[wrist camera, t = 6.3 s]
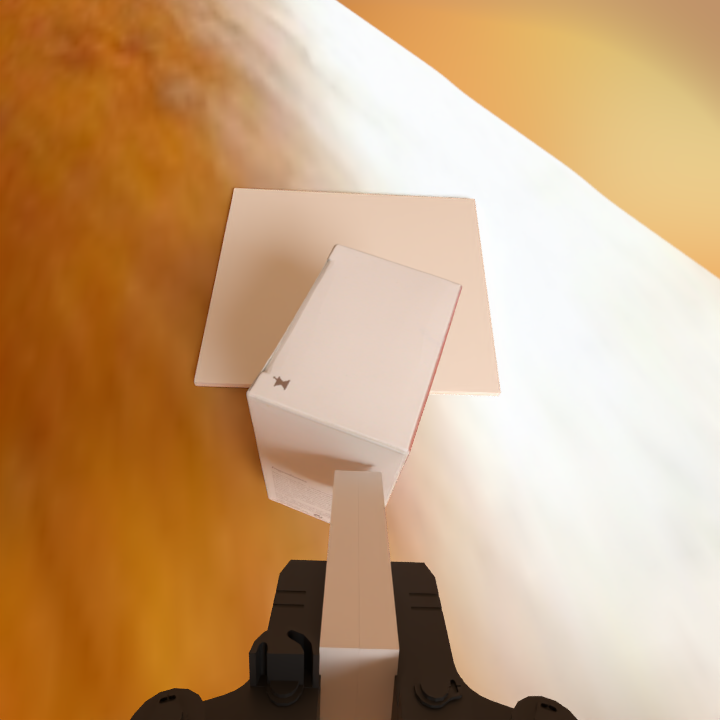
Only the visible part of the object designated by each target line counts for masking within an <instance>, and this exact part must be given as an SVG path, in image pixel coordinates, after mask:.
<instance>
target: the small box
mask: <svg viewBox="0 0 720 720" xmlns="http://www.w3.org/2000/svg"><path fill="white" fill-rule="evenodd" d="M461 290H462V286H461V285H460V284H458V283H455V282H452V281H449V280H447V279H444V278H441V277H438V276H435V275H432V274H429V273H426V272H423V271H420V270H417V269H414V268H411V267H408V266H405V265H402V264H398V263H395V262H392V261H389V260H386V259H383V258H380V257H377V256H374V255H371V254H368V253H365V252H362V251H359V250H356V249H353V248H349V247H346V246H343V245H340V244H336V245H334V247H333V248H332V250H331V253H330V254H329V256H328V258H327V260H326V262H325V264H324V266H323V268H322V270H321V272H320V274H319V275H318V277H317V279H316V280H315V282H314V284H313V286H312V287H311V289H310V291H309V293H308V294H307V296H306V298H305V299H304V301H303V303H302V305H301V306H300V308H299V310H298V311H297V313H296V315H295V316H294V318H293V320H292V322H291V323H290V325H289V327H288V328H287V330H286V332H285V333H284V335H283V337H282V338H281V340H280V342H279V343H278V345H277V347H276V348H275V350H274V351H273V353H272V355H271V356H270V358H269V359H268V361H267V363H266V364H265V366H264V367H263V369H262V370H261V371H260V373H259V374H258V376H257V377H256V379H255V380H254V382H253V383H252V385H251V386H250V388H249V389H248V391H247V392H246V396H247V401H248V405H249V410H250V414H251V420H252V424H253V428H254V433H255V438H256V443H257V448H258V452H259V457H260V462H261V466H262V471H263V476H264V481H265V484H266V489H267V494H268V498H269V499H270V500H273V501H276V502H278V503H281V504H283V505H286V506H288V507H290V508H293V509H295V510H298V511H300V512H303V513H305V514H308V515H310V516H313V517H315V518H318V519H320V520H322V521H325V522H327V523H330V520H331V508H332V497H333V485H334V474H335V470H341V471H369V472H381V473H382V483H383V493H384V503H385V507H386V505H387V503H388V500H389V498H390V496H391V493H392V491H393V489H394V486H395V484H396V482H397V480H398V477H399V475H400V473H401V471H402V468H403V466H404V464H405V462H406V460H407V458H408V456H409V453H410V450H411V447H412V444H413V441H414V438H415V435H416V432H417V428H418V425H419V422H420V419H421V416H422V413H423V410H424V407H425V404H426V401H427V398H428V395H429V392H430V389H431V386H432V383H433V380H434V377H435V374H436V371H437V368H438V364H439V361H440V358H441V355H442V352H443V348H444V345H445V342H446V338H447V335H448V332H449V329H450V326H451V322H452V319H453V316H454V312H455V309H456V306H457V303H458V299H459V296H460V293H461Z"/></svg>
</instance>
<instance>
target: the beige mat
mask: <svg viewBox="0 0 720 720" xmlns="http://www.w3.org/2000/svg"><path fill="white" fill-rule="evenodd" d="M336 244H340V245H343V246H346V247H349V248H353V249H356V250H359V251H362V252H365V253H368V254H371V255H374V256H377V257H380V258H383V259H386V260H389V261H392V262H395V263H398V264H402V265H405V266H408V267H411V268H414V269H417V270H420V271H423V272H426V273H429V274H432V275H435V276H438V277H441V278H444V279H447V280H449V281H452V282H455V283H458V284H460V285H461V286H462V290H461V293H460V296H459V299H458V303H457V306H456V309H455V312H454V316H453V319H452V322H451V326H450V329H449V332H448V335H447V338H446V342H445V345H444V348H443V352H442V355H441V358H440V361H439V364H438V368H437V371H436V374H435V377H434V380H433V383H432V386H431V389H430V392H429V394H445V395H473V396H499V395H500V393H501V392H500V384H499V377H498V369H497V362H496V354H495V347H494V340H493V332H492V325H491V317H490V310H489V302H488V295H487V287H486V280H485V273H484V265H483V258H482V250H481V243H480V235H479V228H478V220H477V213H476V205H475V199H465V198H443V197H421V196H399V195H377V194H355V193H333V192H311V191H289V190H267V189H245V188H234V192H233V197H232V202H231V207H230V211H229V216H228V221H227V226H226V231H225V235H224V240H223V245H222V250H221V254H220V259H219V264H218V269H217V274H216V278H215V283H214V288H213V293H212V298H211V302H210V307H209V312H208V317H207V321H206V326H205V331H204V336H203V341H202V345H201V350H200V355H199V360H198V364H197V369H196V374H195V379H194V383H195V385H196V386H214V387H243V388H250V386H251V385H252V383H253V382H254V380H255V379H256V377H257V376H258V374H259V373H260V371H261V370H262V369H263V367H264V366H265V364H266V363H267V361H268V359H269V358H270V356H271V355H272V353H273V351H274V350H275V348H276V347H277V345H278V343H279V342H280V340H281V338H282V337H283V335H284V333H285V332H286V330H287V328H288V327H289V325H290V323H291V322H292V320H293V318H294V316H295V315H296V313H297V311H298V310H299V308H300V306H301V305H302V303H303V301H304V299H305V298H306V296H307V294H308V293H309V291H310V289H311V287H312V286H313V284H314V282H315V280H316V279H317V277H318V275H319V274H320V272H321V270H322V268H323V266H324V264H325V262H326V260H327V258H328V256H329V254H330V253H331V250H332V248H333V247H334V245H336Z"/></svg>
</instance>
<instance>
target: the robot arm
mask: <svg viewBox="0 0 720 720" xmlns="http://www.w3.org/2000/svg"><path fill="white" fill-rule="evenodd" d="M441 608H442V607H441V603H440V598H439V595H438V589H437V585H436V580H435V577H434V575H433V574H432V573H431V571H430V570H429V569H428V567H427V566H426V565H425V563H415V562H390V552H389V542H388V532H387V522H386V513H385V503H384V493H383V483H382V473H381V472H369V471H341V470H335V474H334V485H333V497H332V508H331V520H330V531H329V543H328V555H327V561H313V560H290V561H289V563H288V564H287V565H286V566H285V568H284V569H283V570H282V572H281V573H280V575H279V580H278V584H277V589H276V594H275V598H274V603H273V608H272V612H271V617H270V621H269V626H268V630H267V631H265V632H264V633H263V634H262V635H261V636H259V637H258V638H257V639H256V640H255V641H254V643H253V646H252V648H251V650H250V652H249V669H250V679H249V680H248V681H247V682H246V683H245V684H244V685H243V686H241V687H240V688H238V689H237V690H235V691H233V692H230V693H228V694H226V695H223V696H219V697H216V698H213V699H209V700H206V701H202V700H201V698H200V696H199V695H198V694H196V693H194V692H192V691H191V690H189V689H179V688H174V689H170V690H167V691H163V692H160V693H158V694H157V695H155V696H154V697H152V698H150V699H149V700H147V701H146V702H145V703H144V704H143V705H142V706H141V707H140V708H139V709H138V710H137V711H136V713H135V714H134V715H133V716H132V718H131V719H130V720H577V719H576V717H575V716H574V715H573V714H572V713H571V712H570V711H569V710H568V709H566V708H565V707H564V706H562V705H561V704H559V703H558V702H556V701H554V700H551V699H548V698H545V697H542V696H528V697H526V698H524V699H522V700H520V701H518V703H517V704H516V706H515V708H511V707H508V706H505V705H502V704H499V703H496V702H494V701H491V700H489V699H486V698H484V697H482V696H480V695H478V694H477V693H476V692H474V691H473V690H472V689H470V688H469V687H468V686H467V685H466V684H465V683H464V681H463V680H462V678H461V677H460V676H459V674H458V672H457V670H456V668H455V665H454V662H453V657H452V653H451V648H450V643H449V639H448V634H447V630H446V625H445V621H444V616H443V612H442V609H441Z"/></svg>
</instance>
